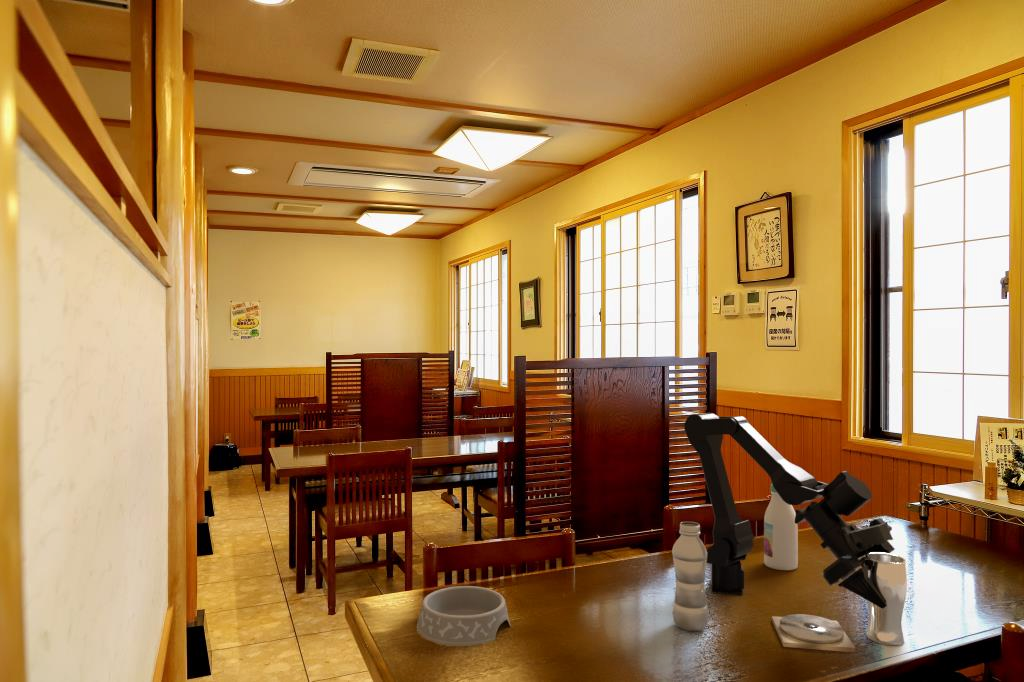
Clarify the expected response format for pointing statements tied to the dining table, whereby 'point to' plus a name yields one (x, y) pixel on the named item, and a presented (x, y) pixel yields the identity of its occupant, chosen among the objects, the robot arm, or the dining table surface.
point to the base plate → (791, 642)
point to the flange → (811, 629)
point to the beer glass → (887, 597)
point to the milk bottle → (780, 534)
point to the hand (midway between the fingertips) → (893, 602)
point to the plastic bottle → (690, 579)
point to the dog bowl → (462, 615)
